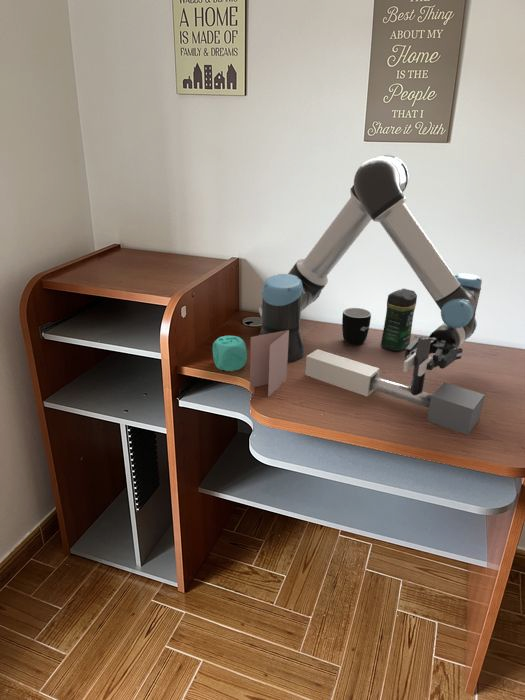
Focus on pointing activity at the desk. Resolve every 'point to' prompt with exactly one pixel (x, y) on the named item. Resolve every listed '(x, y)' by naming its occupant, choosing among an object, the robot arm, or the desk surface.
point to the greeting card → (269, 360)
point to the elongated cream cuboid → (340, 371)
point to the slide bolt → (416, 389)
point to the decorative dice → (229, 353)
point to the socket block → (455, 408)
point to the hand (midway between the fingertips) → (412, 368)
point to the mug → (355, 325)
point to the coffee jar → (399, 319)
